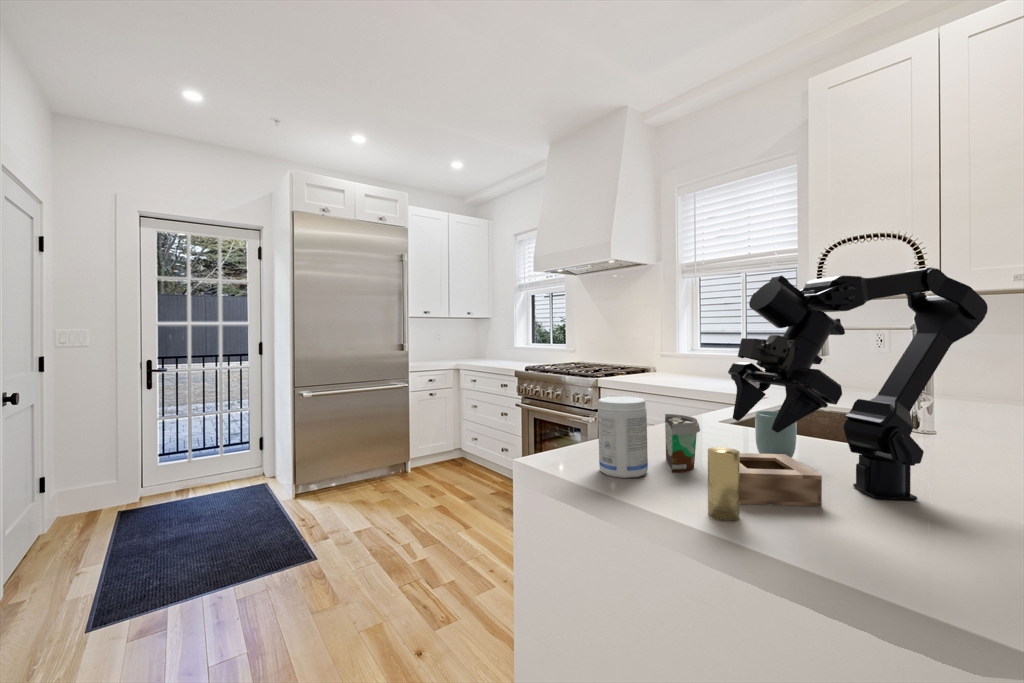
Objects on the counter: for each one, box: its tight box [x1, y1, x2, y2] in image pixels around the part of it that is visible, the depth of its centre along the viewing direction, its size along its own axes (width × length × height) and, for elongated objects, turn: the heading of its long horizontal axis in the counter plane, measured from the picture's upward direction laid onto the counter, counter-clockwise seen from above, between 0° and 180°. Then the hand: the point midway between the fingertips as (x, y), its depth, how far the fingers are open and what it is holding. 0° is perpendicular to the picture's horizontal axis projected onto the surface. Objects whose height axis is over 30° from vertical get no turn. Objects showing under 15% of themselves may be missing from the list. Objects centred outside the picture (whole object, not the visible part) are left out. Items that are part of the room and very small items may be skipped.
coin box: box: [740, 452, 823, 507], centre depth 81 cm, size 13×13×5 cm
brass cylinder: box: [707, 446, 741, 522], centre depth 70 cm, size 4×4×10 cm
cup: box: [754, 410, 798, 459], centre depth 101 cm, size 8×8×10 cm
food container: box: [664, 413, 701, 474], centre depth 96 cm, size 12×6×10 cm, turn 168°
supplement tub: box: [597, 396, 649, 479], centre depth 93 cm, size 10×10×15 cm
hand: (753, 425), depth 74 cm, fingers open, 9 cm apart
